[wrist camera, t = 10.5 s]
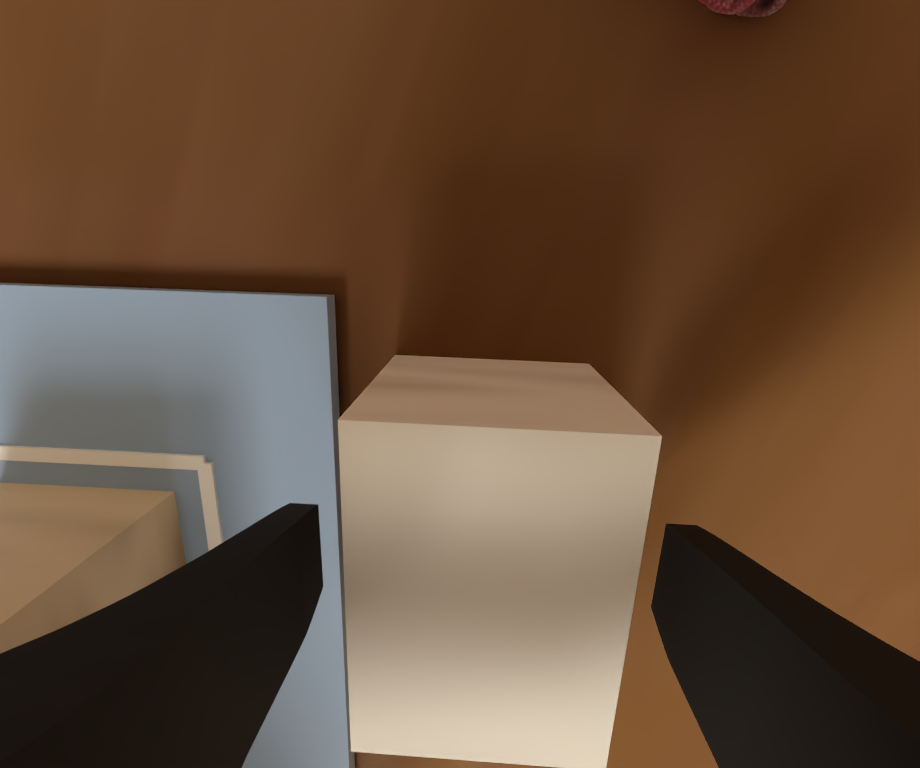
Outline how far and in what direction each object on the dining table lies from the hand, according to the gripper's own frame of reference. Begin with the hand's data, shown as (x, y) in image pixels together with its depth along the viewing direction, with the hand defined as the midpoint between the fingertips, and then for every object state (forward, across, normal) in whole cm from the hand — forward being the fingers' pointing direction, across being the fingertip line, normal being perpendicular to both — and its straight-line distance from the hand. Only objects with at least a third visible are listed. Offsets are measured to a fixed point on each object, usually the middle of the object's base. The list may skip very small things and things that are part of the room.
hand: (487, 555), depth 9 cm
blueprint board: (+3, +11, +4) cm, 12 cm away
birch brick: (+3, 0, 0) cm, 4 cm away
